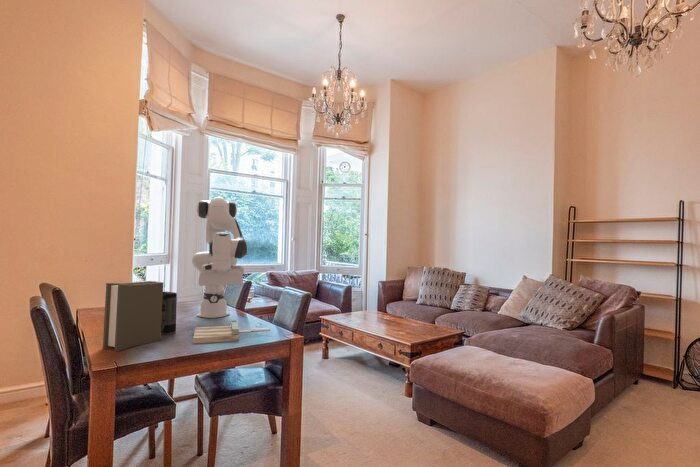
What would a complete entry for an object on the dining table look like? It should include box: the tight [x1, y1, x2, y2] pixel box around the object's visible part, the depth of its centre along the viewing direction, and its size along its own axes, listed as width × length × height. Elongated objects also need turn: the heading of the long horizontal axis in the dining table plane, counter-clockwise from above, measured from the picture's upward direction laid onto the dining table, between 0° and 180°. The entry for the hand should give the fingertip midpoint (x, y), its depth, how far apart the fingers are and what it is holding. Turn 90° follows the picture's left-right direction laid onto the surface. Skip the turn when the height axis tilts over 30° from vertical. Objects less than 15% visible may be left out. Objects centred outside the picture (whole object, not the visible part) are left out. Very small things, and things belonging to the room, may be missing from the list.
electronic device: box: [161, 291, 178, 336], centre depth 190 cm, size 9×6×20 cm, turn 62°
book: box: [102, 280, 164, 353], centre depth 171 cm, size 22×9×28 cm, turn 154°
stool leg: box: [230, 319, 240, 335], centre depth 188 cm, size 18×3×3 cm, turn 19°
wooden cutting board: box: [192, 325, 271, 344], centre depth 188 cm, size 20×36×2 cm, turn 109°
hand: (220, 294), depth 182 cm, fingers closed
